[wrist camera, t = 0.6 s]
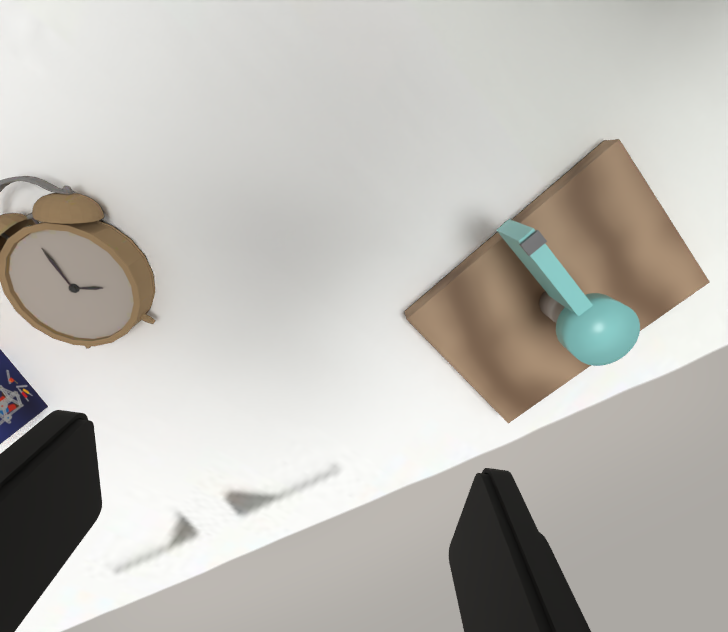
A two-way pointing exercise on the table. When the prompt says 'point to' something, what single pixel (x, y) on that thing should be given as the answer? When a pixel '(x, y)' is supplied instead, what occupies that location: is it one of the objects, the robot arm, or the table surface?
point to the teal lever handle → (575, 302)
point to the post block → (582, 262)
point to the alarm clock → (72, 269)
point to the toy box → (16, 399)
